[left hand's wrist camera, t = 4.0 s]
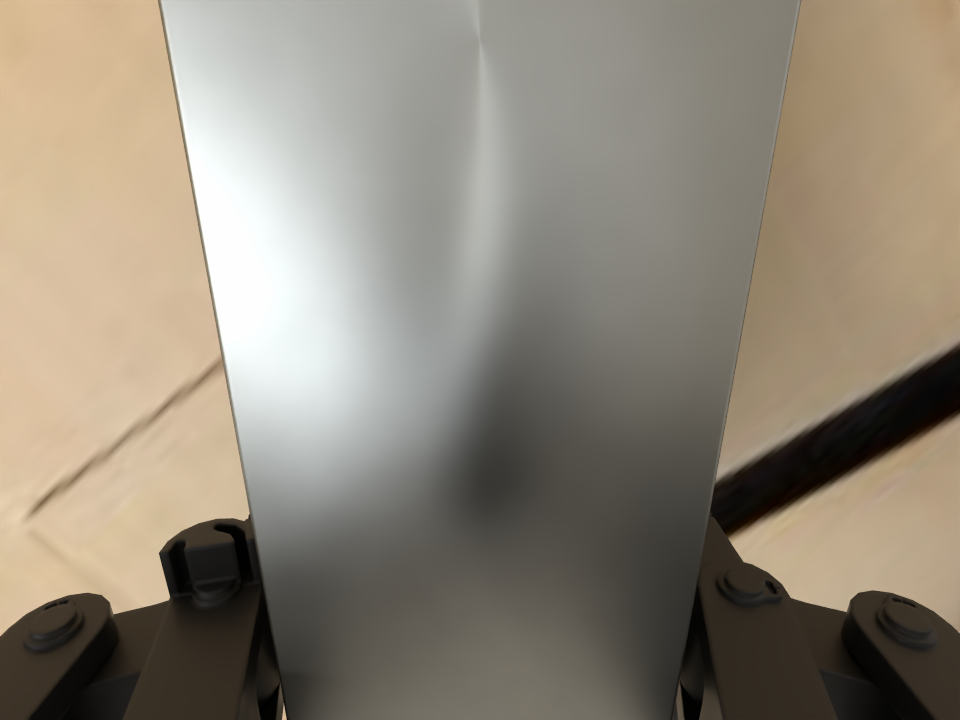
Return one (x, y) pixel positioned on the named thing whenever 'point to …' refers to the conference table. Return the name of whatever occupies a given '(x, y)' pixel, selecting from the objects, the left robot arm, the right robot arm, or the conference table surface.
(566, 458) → the bar
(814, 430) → the conference table surface
